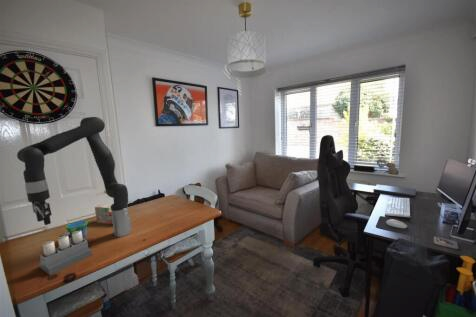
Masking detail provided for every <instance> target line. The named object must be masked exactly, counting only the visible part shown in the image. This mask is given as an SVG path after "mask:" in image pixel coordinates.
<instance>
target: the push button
mask: <svg viewBox="0 0 476 317" xmlns="http://www.w3.org/2000/svg"><path fill="white" fill-rule="evenodd" d="M62 236H68V237H69V243H71V242H72V241H71V236H72V233H70V232H68V231H65V232H63V233H61V234H60V236H59V238H60V237H62Z"/></svg>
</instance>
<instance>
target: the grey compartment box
mask: <svg viewBox="0 0 476 317" xmlns="http://www.w3.org/2000/svg"><path fill="white" fill-rule="evenodd" d="M55 251H56V254H54V255H51V256H49V257H45V256H44V253H42V254H40V255H39V258H40V261H38V264H39V268H40V269H41V270H42V271H44V272H45V273H46V274H48V275H49V276H52V275H54V274H55V273H57V272H59V271H61V270H64V269H66V268H68V267H71V266H72V265H74V264H76V263H78V262H80V261H82V260H84V259H86V258H89V257H91V256H92V255H93V254H92V249H91V248H89V244H88V240H86V238H85V239H83V242H82V243H79V244H77V245H73V242H72V241H71V243H70V248H68V249H65V250H63V251H60V249H59V247H57V248H56V247H55Z"/></svg>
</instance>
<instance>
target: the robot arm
mask: <svg viewBox="0 0 476 317" xmlns="http://www.w3.org/2000/svg"><path fill="white" fill-rule="evenodd" d="M105 128H106V123H105V122H104V120H103V119H102V118H100V117H98V116H88V117H83V118H82V119H81V120H80V122H79V125H78V126H76V127H73V128H71V129H69V130H66V131H63V132H59V133H56V134H54V135H52V136H50V137H47V138H46V139H43V140H41V141H39V142H36V143H33V144H31V145H28V146H25V147H23V148H21V149H20V150H19V151H18V152H17V154H16V157H17V159H18V161H20V162H22V163H24V167H25V169H24V170H23V179H24V182H25V184H24V186H25V193H26V198H27V201H28V202H29V203H31V205H32V212H33V213H34V214H35V215H36V221H37V222H43V225H44V226H47V225H51V223H52V222H51V216H52V215H53V214H52V210H51V207H50V206H51V205H50V203H49V202H47V200H48V199H50V198H51V195H50V190H49V186H48V182H47V179H46V175H45V174H46V173H45V156H46V155H49V154H54V153H56V152H58V151H60V150H63V149H65V148H66V147H68V146H70V145H72V144H73V143H76V142H78V141H80V140H82V139H86V141H87V143H88V145H89V147H90V148H89V149H90V150H91V153H92V155H93V158H94V162H95V163H96V167H97V168H98V170H99V173H100V175H101V176H100V177H101V178H102V181H103V185H104V190H105V192H106V195H107V196H108V197H110V198H112V199H113V203H111V204H110V205H111V213H112V221H113V224H112V226H113V227H112V228H113V235H114V237H117V238H121V237H124V236H127V235H129V234H130V233H132V231H133V229H132V222H131V217H129V216H130V215H129V207H128V204H129V191H128V187H127V186H126V185H125V184H123V183H118V181H117V178H116V174H115V168H116V161H115V159H114V157H113V154H112V152H111V150H110V148H109V147H108V146H107V145H106V144H105V142H104V141H103V140H102V137H101V136H100V135H101V134H100V133H101V132H103V131H104V130H105Z"/></svg>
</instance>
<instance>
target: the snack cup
mask: <svg viewBox="0 0 476 317" xmlns="http://www.w3.org/2000/svg"><path fill="white" fill-rule="evenodd" d="M87 226H88V221H87V220H78V221H73V222H71V223H69V224H67V225H65V229H66V232H70V233H73V232H75V231H82V237H83V239H85V240H86V238H87V234H88V233H87V232H88V230H87V229H88V227H87ZM71 242H73V238H72V236H71Z"/></svg>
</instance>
